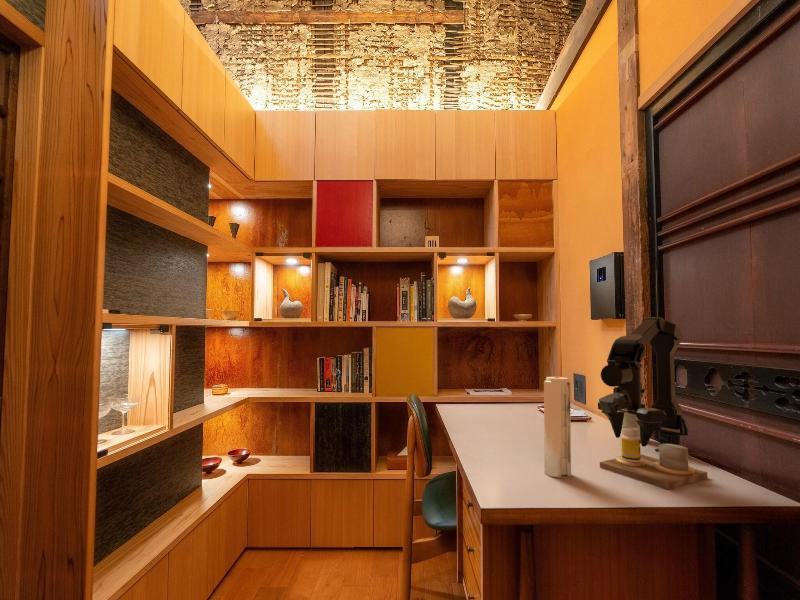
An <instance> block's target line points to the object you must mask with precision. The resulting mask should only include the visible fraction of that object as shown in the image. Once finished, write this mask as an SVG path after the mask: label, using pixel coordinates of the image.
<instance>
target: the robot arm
mask: <svg viewBox="0 0 800 600" xmlns="http://www.w3.org/2000/svg"><path fill="white" fill-rule="evenodd" d="M681 339H682V330H681V328H680V327H678V325H677V324H676V323H672V322H669V321H667V320H666V319H664V318H663V317H659V316H658V317H655V316H652V317H651V316H649V317H644V318H643V319H642V322H641V323H640V324H639V325H638V326H637V327H636V328H635V329H634V330H633V331H632V332H631V333H629V334H628V335H623V336H620V337H618V338H616V339H615V340H614V341H613V343H612V345H611V348H610V350H609V354H608V356H607V360H606V362H607V364H606V365H605V366H603V367H602V369H601V371H600V379H601V381H602V383H604V384H605V386H608V387H612V389H613V392H612V393H609V394H607V395H605V396H602V397H600V398H599V399H598V402H597V409H598V410H601V411H600V412H601V413H602V414H604V415H605V416H606V417H607V418H608V421H609V422H610V425H611V428H612V431H613V433H614V436H615V438H617V439H619V438H620V439H621V435H622V425H623V419H624V413H625V412H626V413H630V414H634V415H636V417H637V418H638V420H636V422H637V423H638V425H639V426H640V437H641V441H640V446H642V447H647V445H648V443H649V442H650V440H651V438H652V436H653V434H654V432H655V431H656V432H659V444H674V445H679V446H683V445H682V436H687V437H688V436H689V432H690V430H689V429H690V428H689V427H690V426H689V425H688V423H687V421H686V418H685V416H684V414H683V408H682V407H681V406H680V404H679V403H678V401H677V399H676V378H675V377H676V376H675V375H676V373H675V372H676V371H675V352H676V351H677V349H678V348H679V346H680V345H681V342H680V341H681ZM648 344H649V346H651V348H652V349H653V350H654V353H655V354H656V356H655V357H656V382H657V383H656V384H657V400H656V401H655V403H654V404H652V406H651V407H646V404H645V403H643V404H641V393H642V394H645V393H646V392H645V391H646V389H645V388H642V389H641V383H642V375H641V373H642V369H641V368H643V364H642V361H643V359H644V357H645V355H646V353H647V347H646V346H647V345H648ZM613 387H614V388H613ZM625 408H626V409H625ZM632 410H633V411H632ZM654 450H655V452H659V447H658V448H654Z"/></svg>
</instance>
